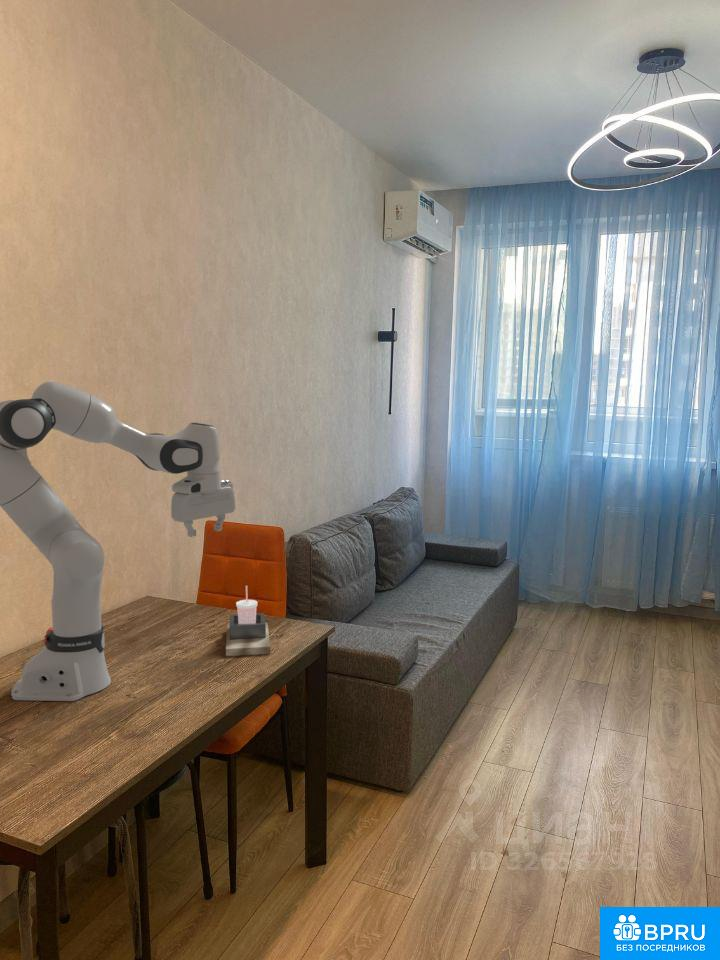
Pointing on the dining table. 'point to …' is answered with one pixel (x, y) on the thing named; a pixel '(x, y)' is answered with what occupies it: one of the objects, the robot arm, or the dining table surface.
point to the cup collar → (247, 628)
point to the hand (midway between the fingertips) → (205, 533)
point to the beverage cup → (246, 610)
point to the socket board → (247, 645)
